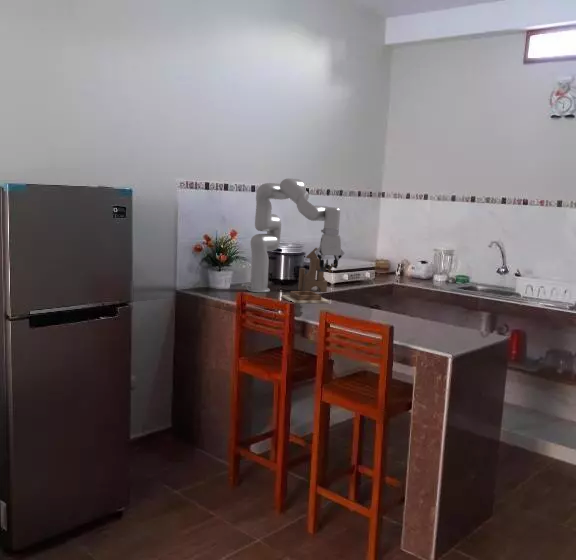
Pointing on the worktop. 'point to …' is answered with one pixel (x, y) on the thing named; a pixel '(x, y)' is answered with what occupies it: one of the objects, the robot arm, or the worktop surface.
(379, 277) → the worktop surface
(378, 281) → the worktop surface
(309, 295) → the jig
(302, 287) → the wooden toy
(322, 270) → the eagle figurine
